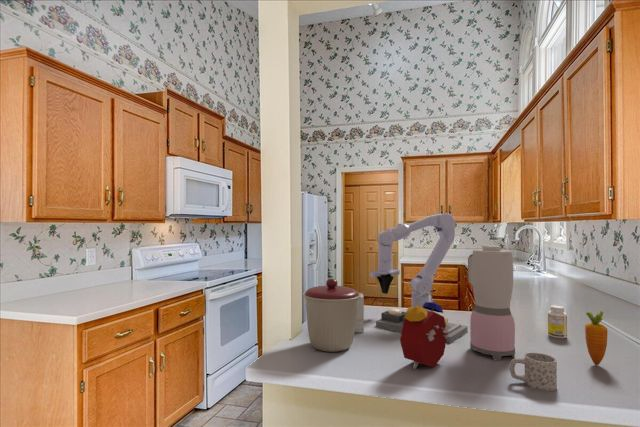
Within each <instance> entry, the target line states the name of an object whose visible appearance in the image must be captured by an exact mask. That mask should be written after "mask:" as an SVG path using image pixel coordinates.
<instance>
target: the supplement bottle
mask: <svg viewBox="0 0 640 427" xmlns="http://www.w3.org/2000/svg"><path fill="white" fill-rule="evenodd" d="M547 334H548V336H549V337H552V338H555V339H566V338H567V337H568V315H567V313H566V312H565V307H564V306H562V305H550V309H549V310H548V312H547Z"/></svg>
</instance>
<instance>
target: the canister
mask: <svg viewBox="0 0 640 427" xmlns="http://www.w3.org/2000/svg"><path fill="white" fill-rule="evenodd" d="M325 284H326V285H319V286H318V285H317V286H313V287H310V288H308V289H306V290H305V291H304V292H303V293H302V296H303V298H304V300H305V301H304V302H305V303H304V304H305V312H306V324H307V331H308V337H309V342H310V344H311V346H312V347H313V348H315V350H317V351H318V350H319V351H321V352H327V353H329V352H330V353H331V352H332V353H338V352H341V351H346V350H348V349H349V348H351V346H352V345H353V342H354V338H355V333H356V332H355V326H356V318H357V309H358V299H359V298H360V296H361V294H360V293H361V292H358V291H357V290H356V289H354V288H353V287H352V288H351V287H350V286H349V287H348V286H344V285H343V286H342V285H338V280H337V279H335V278H329V279H327V280H326V282H325Z"/></svg>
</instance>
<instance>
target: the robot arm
mask: <svg viewBox="0 0 640 427" xmlns="http://www.w3.org/2000/svg"><path fill="white" fill-rule="evenodd" d="M456 224H457V222H456V221H455V218H454V216H453V215H452V214H451V213H448V212H444V213H436V214H432V215H428V216H425V217H423V218H421V219H418V220H416V221H414V222H411V223H410V224H405V223H401V222H400V223H397V224H396V226H394V227H391V228H390V227H388V228H387V229H386V230H383V231H380V232H379V233H378V234H377V237H376V241H377V242H378V246H377V247H378V249H377V255H378V256H377V264H378V265H377V270H373V271H369V277H371V278H375V277H376V280H377V281H378V283H379V285H380V289H381V293H382V294H384V295H385V294H386V295H387V294H388V293H389V290H390V286H391V283H392V282H393V280H394V279H395V278H394V275H397V276H398V275H400V269H393V243H394V242H398V241H401V240H403V239H405V238H408V237H409V236H410V235H411V233H412V232H415V231H418V230H420V229H423V228H426V227H429V226H430V227H434V228H435V229H436V231H437V233H438V235H439V239H438V240H437V242H436V244H435V246H434V248H433V250H432V251H431V253H430V255H429V256H428V258H427V260H426V262H425V263H424V265H423V267H422V269H421V270H420V271H419V272H418V273H417V274H416V275H415V276H414V277H413V278H412V279H410V282H409V284H410V288H411V289H412V291H411V306H415V305H416V304H417V297H418V296H419V295H420V294H422V293H423V292H424V291H426V292H429V293H432V292H431V291H432V288H433V284H434V280H435V278H434V276H435V275H436V273H437V270H438V269H439V267H440V265H441V264H442V262H443V260H444V258H445V256H446V255H447V253H448V251H449V249H450V248H451V246H452V244H453V243H454V241H455V234H456V233H455V229H456V228H455V227H456ZM432 300H433V301H434V299H433V298H432ZM425 302H432V301H431V295H430V294H427V293H424V294H422V295H421V296H420V297H419V298H418V305H417V306H421V305H422V303H425ZM424 309H425V308H424ZM425 310H427V311H431V310H428V309H425Z"/></svg>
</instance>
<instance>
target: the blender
mask: <svg viewBox="0 0 640 427" xmlns="http://www.w3.org/2000/svg"><path fill="white" fill-rule="evenodd" d="M513 259H514V258H513V252H512V251H511V250H507V249H506V250H505V249H502V246H501V245H482V248H480V249H479V248H476V249H473V250H472V254H470V255H469V256H468V258H467V281H468V283H469V284H470V285H471V286H472V292H473V298H474V307H473V310H472V311H471V314H470V322H469V323H470V327H469V328H470V329H469V330H470V335H469V336H470V341H469V342H470V344H469V346H470V350H474V351H476V352H478V353H482V354H485V355H491V356H492V359H493V360H497V361H500V360H502V357H507V356H510V357H511V358H513V359H515V357H516V346H515V344H516V337H515V336H516V322H515V317H514V316H513V314H512V311H511V309H510V308H511V300H512V294H513V288H514V260H513Z"/></svg>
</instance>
